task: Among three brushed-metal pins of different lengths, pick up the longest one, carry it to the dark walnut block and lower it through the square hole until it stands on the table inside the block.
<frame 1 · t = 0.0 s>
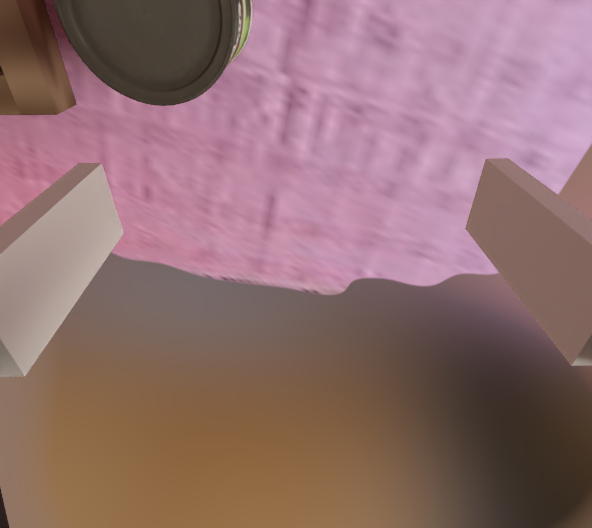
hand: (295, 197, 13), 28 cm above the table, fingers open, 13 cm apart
coffee can: (195, 6, 33), on the table
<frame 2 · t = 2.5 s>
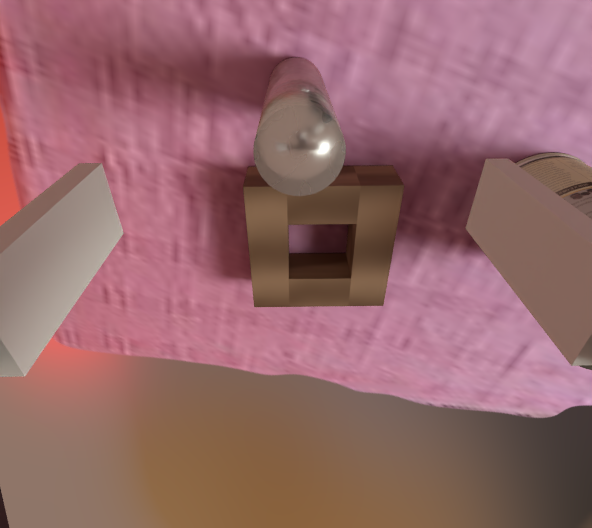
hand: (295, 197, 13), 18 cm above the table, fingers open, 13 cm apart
coffee can: (529, 206, 34), on the table
long pin: (295, 87, 28), on the table
hole block: (318, 228, 35), on the table
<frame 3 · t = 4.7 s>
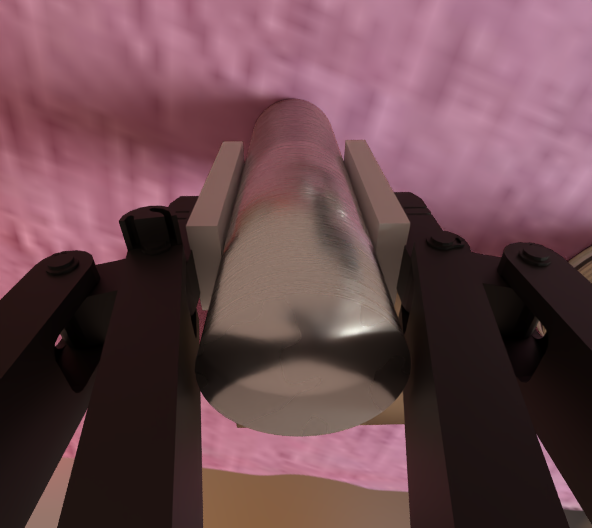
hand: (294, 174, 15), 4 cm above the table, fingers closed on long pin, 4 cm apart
long pin: (292, 142, 18), on the table, touching gripper
hole block: (324, 320, 25), on the table
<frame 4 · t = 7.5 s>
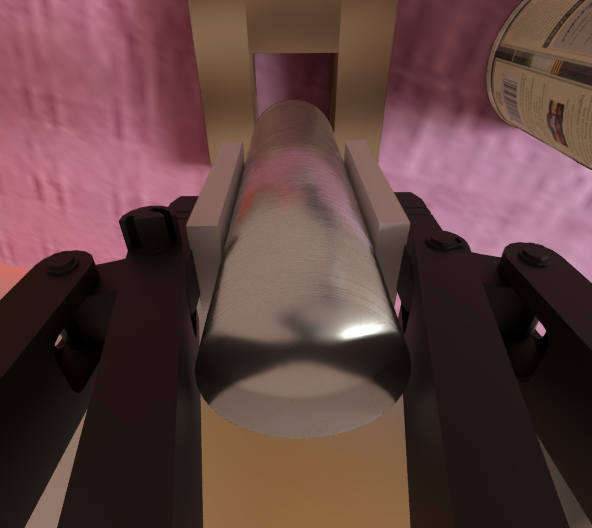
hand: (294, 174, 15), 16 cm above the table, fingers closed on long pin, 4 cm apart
coffee can: (557, 55, 27), on the table
long pin: (292, 143, 18), point 12 cm above the table, touching gripper
hole block: (293, 88, 28), on the table
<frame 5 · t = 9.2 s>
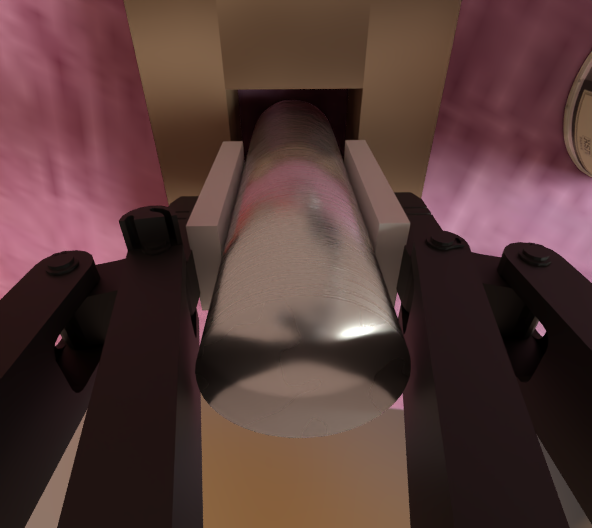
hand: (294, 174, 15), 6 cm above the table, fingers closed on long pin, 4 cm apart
long pin: (292, 143, 18), point 2 cm above the table, touching gripper
hole block: (293, 130, 20), on the table
when the fingers open (5 cm above the table, at t = 10.3 s): long pin stays where it is, resting in hole block.
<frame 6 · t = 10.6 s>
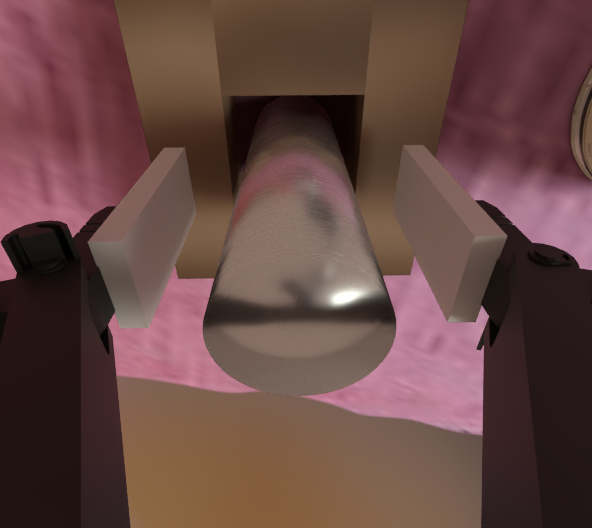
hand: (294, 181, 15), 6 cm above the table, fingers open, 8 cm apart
long pin: (293, 136, 19), resting in hole block
hole block: (292, 136, 19), on the table
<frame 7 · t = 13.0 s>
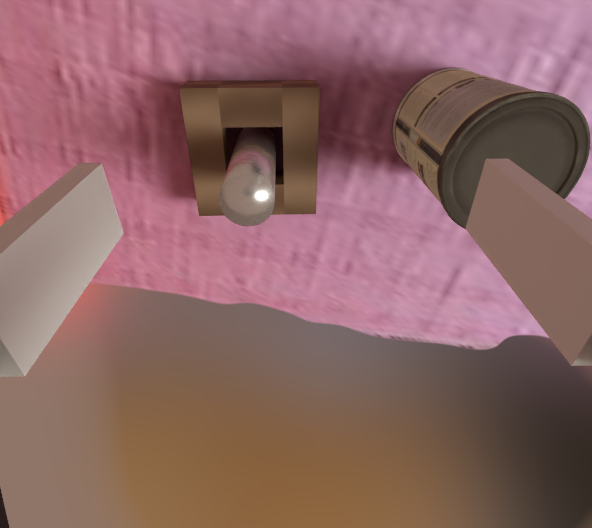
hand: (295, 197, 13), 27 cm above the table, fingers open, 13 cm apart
coffee can: (441, 122, 38), on the table
long pin: (256, 144, 39), resting in hole block
hole block: (256, 144, 39), on the table
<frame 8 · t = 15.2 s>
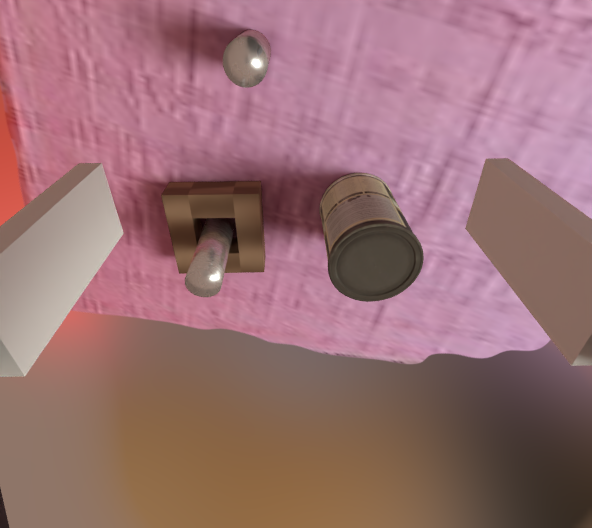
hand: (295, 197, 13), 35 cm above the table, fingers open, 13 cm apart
coffee can: (355, 206, 52), on the table
long pin: (221, 221, 53), resting in hole block
medium pin: (252, 51, 41), on the table
hole block: (220, 221, 53), on the table
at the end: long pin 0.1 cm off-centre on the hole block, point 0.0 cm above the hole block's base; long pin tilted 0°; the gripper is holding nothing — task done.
